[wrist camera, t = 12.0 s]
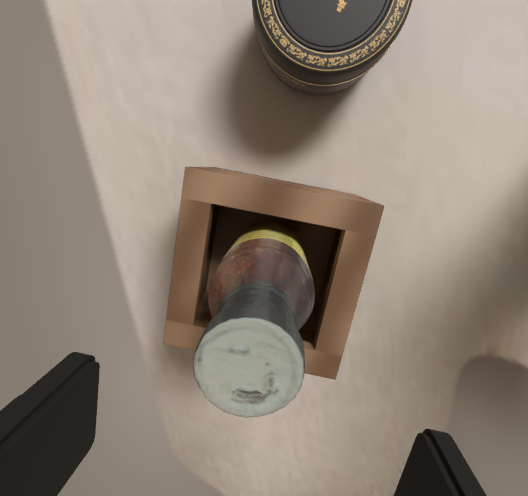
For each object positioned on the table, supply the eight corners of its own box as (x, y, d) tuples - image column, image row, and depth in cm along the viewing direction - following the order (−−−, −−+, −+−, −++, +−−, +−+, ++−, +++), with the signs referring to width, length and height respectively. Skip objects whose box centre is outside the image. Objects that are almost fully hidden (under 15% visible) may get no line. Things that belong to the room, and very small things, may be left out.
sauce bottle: (280, 292, 32) (271, 485, 12) (225, 260, 31) (126, 408, 12) (317, 236, 30) (371, 356, 11) (259, 202, 30) (208, 263, 10)
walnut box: (355, 194, 29) (384, 205, 21) (322, 323, 33) (335, 379, 24) (214, 167, 30) (185, 166, 21) (195, 297, 33) (163, 344, 24)
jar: (316, -68, 25) (329, -168, 18) (409, 25, 26) (458, -32, 19) (235, 45, 27) (215, -1, 20) (323, 126, 28) (336, 111, 21)
